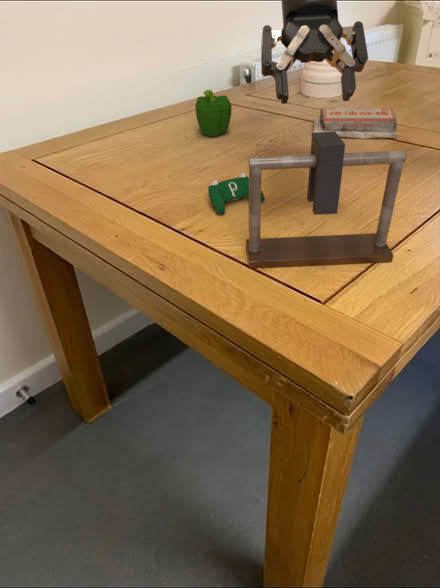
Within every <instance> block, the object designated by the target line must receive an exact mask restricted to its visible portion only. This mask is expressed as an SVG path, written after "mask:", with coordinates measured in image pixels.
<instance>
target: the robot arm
mask: <svg viewBox="0 0 440 588" xmlns="http://www.w3.org/2000/svg"><path fill="white" fill-rule="evenodd" d="M280 1H281V14H282V28H281V29H273V28H272V27H271V26H270V25H268V24H265V25H264V26H263V27H262V33H261V39H260V40H261V41H260V42H261V43H260V46H261V48H260V50H261V56H260V57H261V58H260V61H261V63H260V65H261V66H260V68H261V69H260V73H261V76H263V77H268V76H271V77H273V78H274V82H275V83H274V84H275V97H276V99H277V100H278V101H280V103H281V104H282V105H285V104H288V101H289V94H290V93H289V82H288V80H289V79H288V71H289V70H291V68H292V67H293V66H294V64H295V63H296V62H297V61H299V62H300V64H305V63H307V62H310V61H314V62H323V60H326V61H327V62H328V63H329V64H330V65H331V66H332V67H335V68H336V69H337V70H338V71H339V72H340V73H341V74H342V76H341V85H342V95H341V96H342V102H349V101H350V100H351V98H352V97H353V95H354V94H355V91H356V88H357V84H356V83H357V82H356V73H361V72H363V70H364V67H365V65H366V63H367V62H368V60H369V54H368V47H367V41H366V35H365V28H364V23H363V22H362V21H360V20H358V21H355V22H354V24H353V25H352V26H342V24H341V23H340V20H339V12H338V11H339V10H338V1H337V0H280ZM340 39H344V40H345V42H346V43H347V46H350V50H351V54H349V53H348V52H347V48H346V47H345V46H346V45H345V46H344V45H343V44H344V43H343V42H342V41H341V42H342V43H343V44H342V43H341V42H340ZM278 42H281V44H282V45H283V46H284V47H285V50H284V52H283V55H282V56H281V57H280V58H279V60H278V62H276V61H273V49H274V48H276V47H277V43H278ZM333 50H334V53H333V52H332V51H333Z"/></svg>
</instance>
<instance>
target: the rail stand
mask: <svg viewBox="0 0 440 588" xmlns="http://www.w3.org/2000/svg"><path fill="white" fill-rule="evenodd" d="M406 162H407V151H406V150H403V149H401V150H382V151H381V150H380V151H359V152H344V159H343V167H356V166H360V167H361V166H377V165H378V166H381V165H389V166H388V170H387V176H386V182H385V186H384V190H383V191H384V192H383V197H382V200H381V201H382V202H381V207H380V212H379V216H378V222H377V228H376V232H375V233H353V234H352V233H350V234H331V235H309V236H288V237H265V238H264V237H263V238H262V237H261V221H262V219H261V217H262V216H261V215H262V203H261V191H262V172H263V171H268V170H269V171H271V170H272V171H273V170H293V169H309V168H316V163H317V157H316V156H315V154H312V155H310V154H295V155H293V154H292V155H291V154H290V155H272V156H271V155H269V156H250V157H248V178H249V198H248V238H245V250H246V257H247V264H248V269H251V270H252V269H268V268H269V269H270V268H271V269H272V268H292V267H295V268H296V267H314V266H336V265H338V266H339V265H359V264H361V265H362V264H382V263H392V262H393V259H394V252H392V250H391V248H390V247H389V245H388V243H387V241H388V237H389V232H390V227H391V222H392V219H393V213H394V208H395V204H396V199H397V195H398V191H399V185H400V181H401V176H402V171H403V167H404V164H405V163H406Z"/></svg>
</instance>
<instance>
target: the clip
mask: <svg viewBox="0 0 440 588" xmlns="http://www.w3.org/2000/svg"><path fill="white" fill-rule="evenodd" d="M345 150H346V143H345V142H344V141H343V139H342V137H339V136H338V135H337V133H336V132H317V133H313V132H312V133H311V140H310V154H309V155H312V154H315V156H316V157H317V163H316V168H308V180H307V181H308V182H307V193H306V199H307V202H308V203H312V214H313V215H315V216H316V215H317V216H318V215H319V216H320V215H337V214H338V210H339V202H340V193H341V184H342V177H343V168H344V166H343V159H344V153H345Z"/></svg>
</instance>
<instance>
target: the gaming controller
mask: <svg viewBox="0 0 440 588" xmlns="http://www.w3.org/2000/svg"><path fill="white" fill-rule="evenodd" d="M207 191H208V193H207V194H208V198H209V201H210V203H211V205H212V207H213V209H214V210H215V212H217V214H219V215H223V214H225V213H226V205H225V204H228V203H230V202H232V201H236V200H242V199H244V198H245V197H246V198H247V199H249V176H247V173H246V172H241V173H240V174H239V175H238V176H237V177H234V178H229V179H226V180H222V181H218V180H217V179H214V180H213V181H211V182H210V183H209V184H208V187H207ZM265 200H266V199H265V195H264V192H263V191H262V190H261V204H262V203H264V201H265Z"/></svg>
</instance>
